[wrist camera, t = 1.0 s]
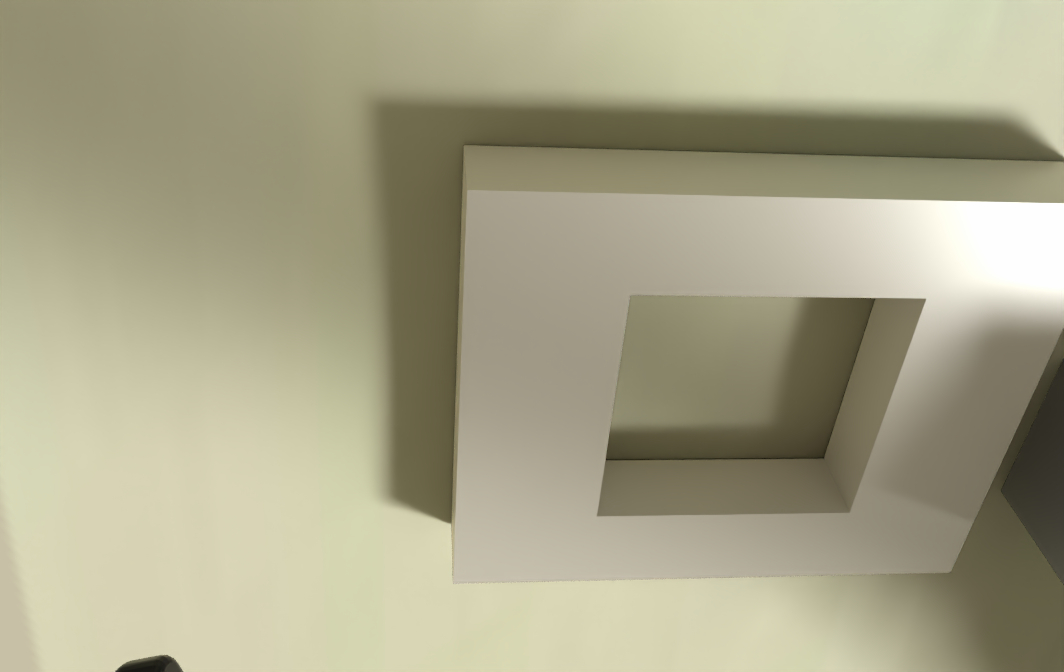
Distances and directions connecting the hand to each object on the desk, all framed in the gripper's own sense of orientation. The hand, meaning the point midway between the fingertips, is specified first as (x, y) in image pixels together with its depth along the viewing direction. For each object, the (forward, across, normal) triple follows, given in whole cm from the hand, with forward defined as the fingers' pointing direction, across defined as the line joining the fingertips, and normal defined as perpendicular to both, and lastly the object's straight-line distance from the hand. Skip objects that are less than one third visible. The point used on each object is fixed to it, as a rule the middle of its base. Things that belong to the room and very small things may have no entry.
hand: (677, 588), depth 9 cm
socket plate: (+11, -3, +7) cm, 14 cm away
